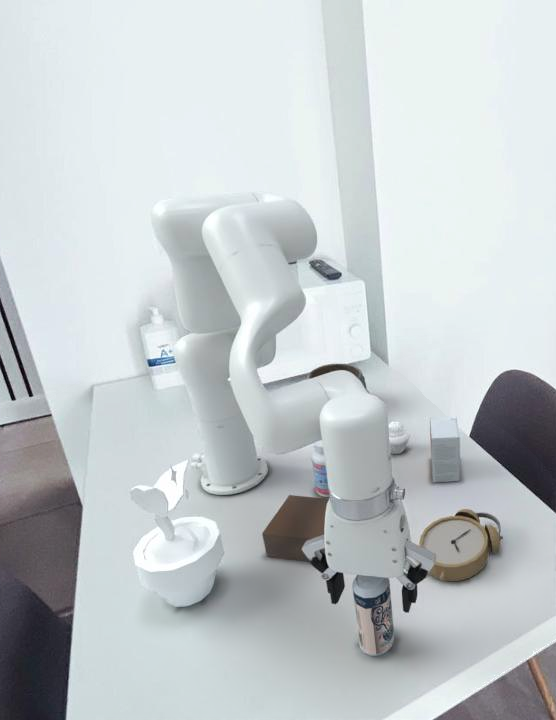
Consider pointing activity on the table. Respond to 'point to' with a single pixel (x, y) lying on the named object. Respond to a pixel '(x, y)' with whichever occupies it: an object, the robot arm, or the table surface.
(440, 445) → the small box
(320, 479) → the pill bottle
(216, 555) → the potted plant
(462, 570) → the alarm clock
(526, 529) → the table surface
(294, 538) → the block
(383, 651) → the beer can
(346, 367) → the bowl
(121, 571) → the table surface
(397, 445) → the muffin
